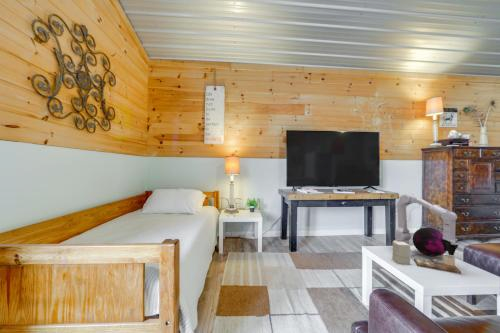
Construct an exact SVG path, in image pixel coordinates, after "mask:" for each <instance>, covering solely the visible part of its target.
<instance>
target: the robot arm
mask: <svg viewBox="0 0 500 333" xmlns="http://www.w3.org/2000/svg"><path fill="white" fill-rule="evenodd" d="M411 204H417V205H421V207H425V208H426V209H429V212H430V213H432V214H433V215H436V216H437V217H439V218H441V219H442V221H443V222H442V226H443V227H442V234H443V239H440V240H441V241H442V244H443V248H444V251H446V252H447V253H448V254H447V255H450V256H454V255H455V253H456V250H457V249H458V248H459V244H457V241H458V240H459V239H457V238H456V226H457V225H456V221H457V219H458V215H457V214H456V212H454V211H449V209H446V208H443V207H441V205H440V204H432V203H430V202H428V201H427V200H424V199H423V198H421V197H419V196H418V195H416V194H413V193H411V194H402V195H400V196H399V199H398V200H397V204H396V207H397V208H396V210H397V224H398V225H397V229H396V230H395V234H394V237H395V239H394V240H393V241H397V242H405V243H407V244H409V243H410V240H411V239H412V235H411V233H410V230H409V229H408V221H407V218H408V217H407V207H408V206H409V205H411ZM409 245H410V244H409Z"/></svg>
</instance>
